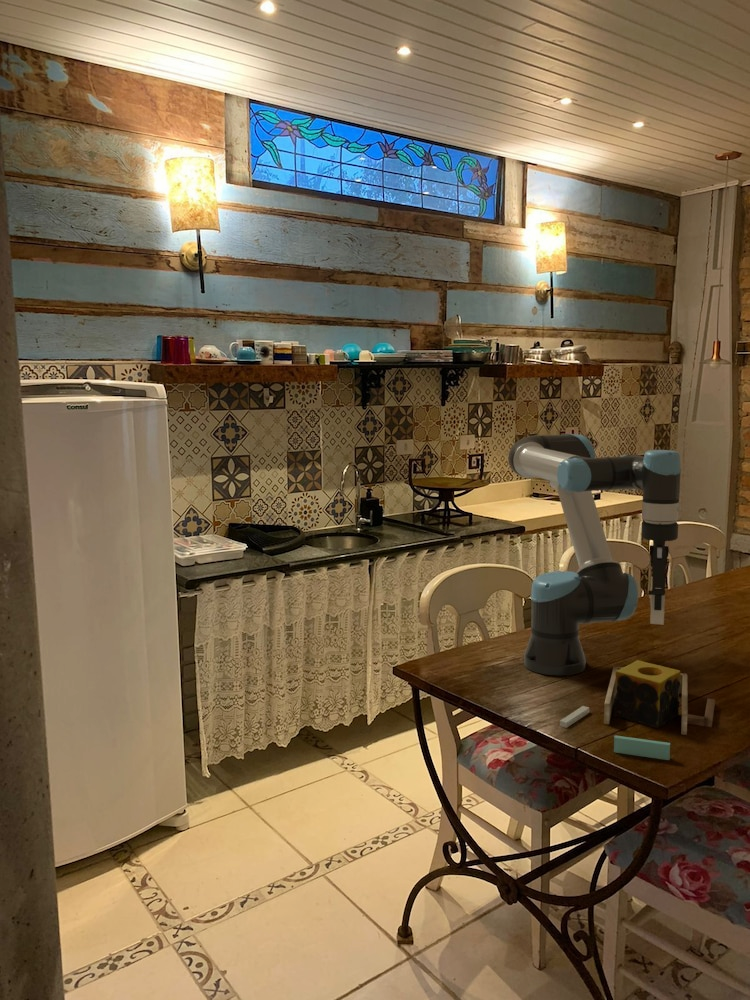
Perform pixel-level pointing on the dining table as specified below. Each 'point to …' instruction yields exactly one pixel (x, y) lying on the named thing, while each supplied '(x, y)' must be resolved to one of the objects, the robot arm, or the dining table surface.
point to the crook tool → (707, 718)
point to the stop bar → (642, 747)
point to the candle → (647, 693)
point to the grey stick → (574, 716)
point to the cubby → (612, 693)
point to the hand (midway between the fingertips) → (656, 614)
